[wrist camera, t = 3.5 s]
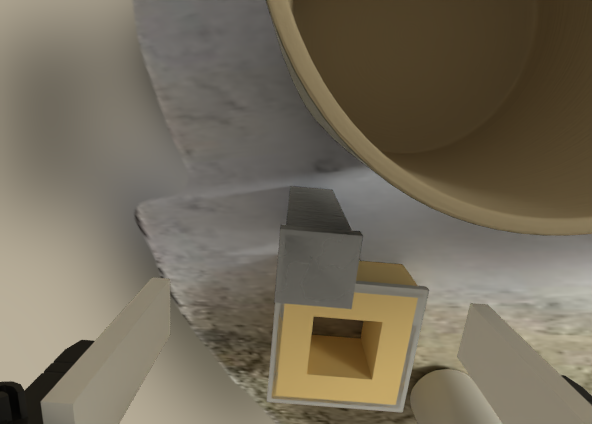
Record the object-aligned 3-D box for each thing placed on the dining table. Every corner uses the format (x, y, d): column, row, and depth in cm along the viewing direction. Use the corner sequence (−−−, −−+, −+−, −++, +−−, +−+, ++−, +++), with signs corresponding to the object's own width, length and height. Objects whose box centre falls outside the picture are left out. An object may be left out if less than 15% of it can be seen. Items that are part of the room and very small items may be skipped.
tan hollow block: (280, 250, 34) (277, 277, 28) (407, 261, 34) (429, 290, 29) (271, 358, 38) (266, 401, 32) (386, 367, 38) (402, 412, 32)
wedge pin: (287, 182, 32) (280, 228, 19) (335, 187, 32) (362, 236, 19) (283, 228, 34) (274, 302, 20) (329, 232, 34) (351, 309, 20)
